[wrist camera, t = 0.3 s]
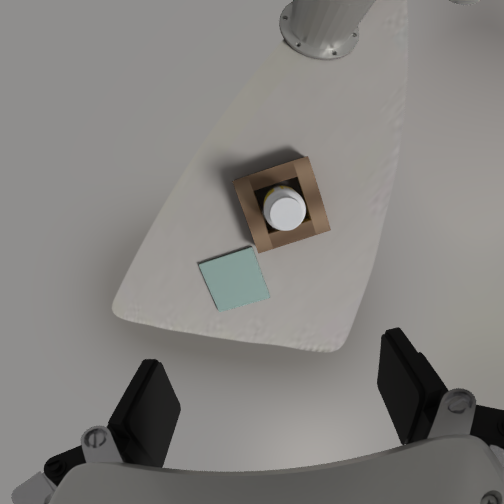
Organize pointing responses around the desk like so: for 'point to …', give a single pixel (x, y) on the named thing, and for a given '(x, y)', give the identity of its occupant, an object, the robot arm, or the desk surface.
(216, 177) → the desk surface
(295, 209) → the supplement bottle
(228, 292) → the coaster plate
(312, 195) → the can holder
